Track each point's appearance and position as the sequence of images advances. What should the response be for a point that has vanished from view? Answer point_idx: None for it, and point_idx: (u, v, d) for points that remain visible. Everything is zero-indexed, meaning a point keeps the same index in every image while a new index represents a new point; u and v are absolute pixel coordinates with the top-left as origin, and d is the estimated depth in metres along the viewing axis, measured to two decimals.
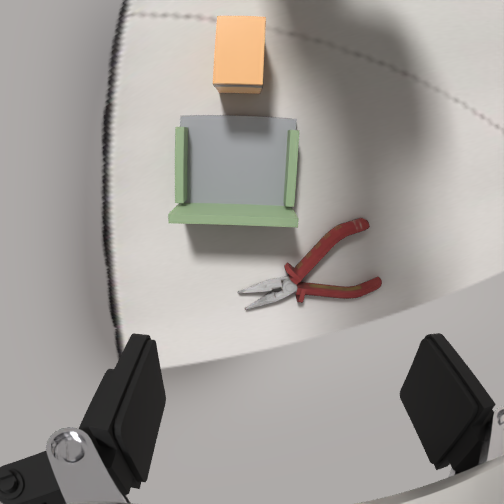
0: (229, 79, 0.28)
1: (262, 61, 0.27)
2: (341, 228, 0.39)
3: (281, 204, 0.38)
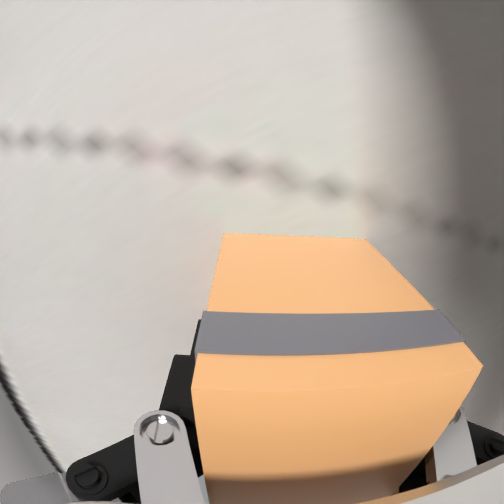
0: None
1: None
2: None
3: None
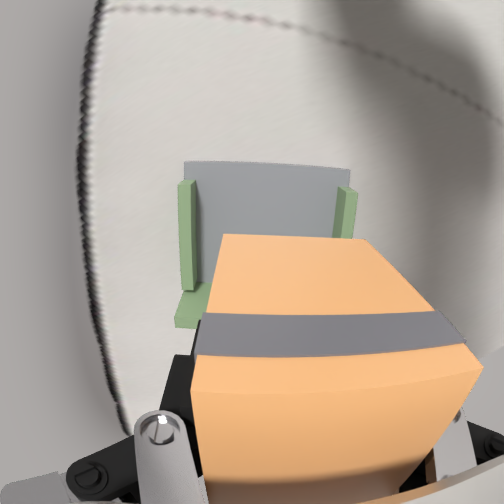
0: None
1: None
2: None
3: None
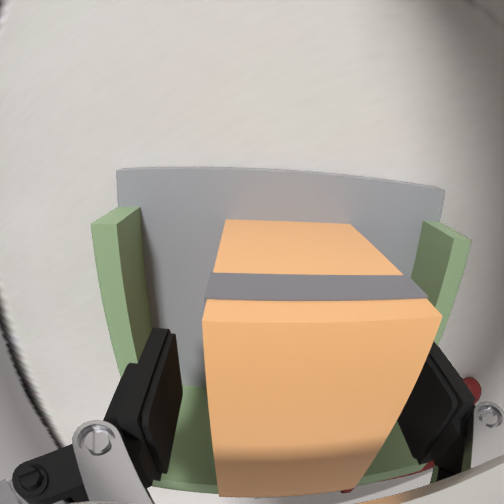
0: (266, 492, 0.08)
1: (372, 457, 0.08)
2: None
3: None
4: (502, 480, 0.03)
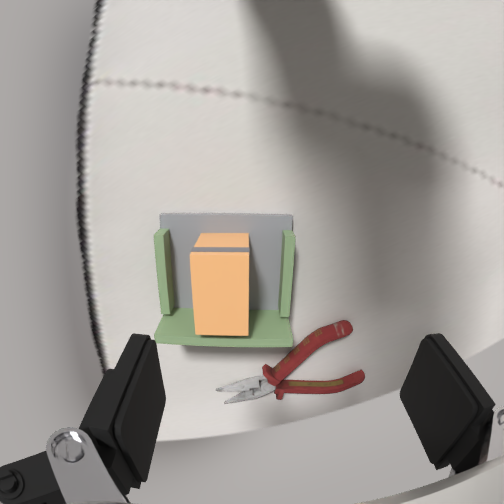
0: (212, 331, 0.28)
1: (247, 312, 0.28)
2: (321, 335, 0.36)
3: (276, 308, 0.35)
4: (502, 480, 0.03)
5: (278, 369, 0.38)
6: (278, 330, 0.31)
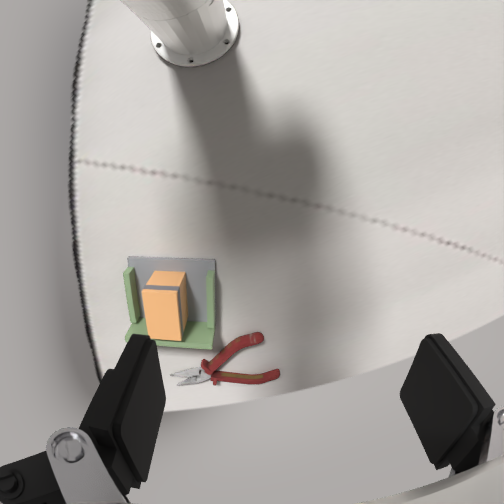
0: (159, 336, 0.43)
1: (178, 326, 0.43)
2: (239, 342, 0.51)
3: None
4: (502, 480, 0.03)
5: (211, 363, 0.53)
6: (204, 337, 0.46)
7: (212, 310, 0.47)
